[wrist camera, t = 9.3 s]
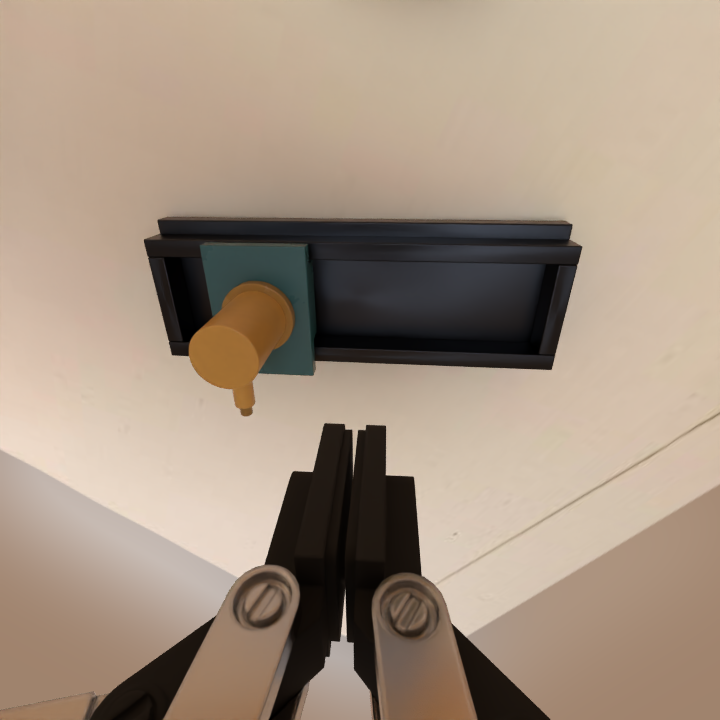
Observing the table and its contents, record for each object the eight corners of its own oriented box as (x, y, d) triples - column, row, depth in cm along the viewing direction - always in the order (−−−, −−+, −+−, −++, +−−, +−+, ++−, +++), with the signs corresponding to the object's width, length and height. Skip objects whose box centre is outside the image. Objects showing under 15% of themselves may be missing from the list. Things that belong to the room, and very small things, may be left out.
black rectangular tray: (194, 346, 29) (174, 366, 27) (166, 216, 25) (139, 224, 22) (534, 359, 27) (548, 381, 25) (565, 220, 23) (587, 230, 21)
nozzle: (241, 351, 27) (181, 428, 20) (222, 233, 24) (141, 273, 16) (322, 354, 27) (293, 434, 19) (316, 234, 23) (277, 276, 16)
